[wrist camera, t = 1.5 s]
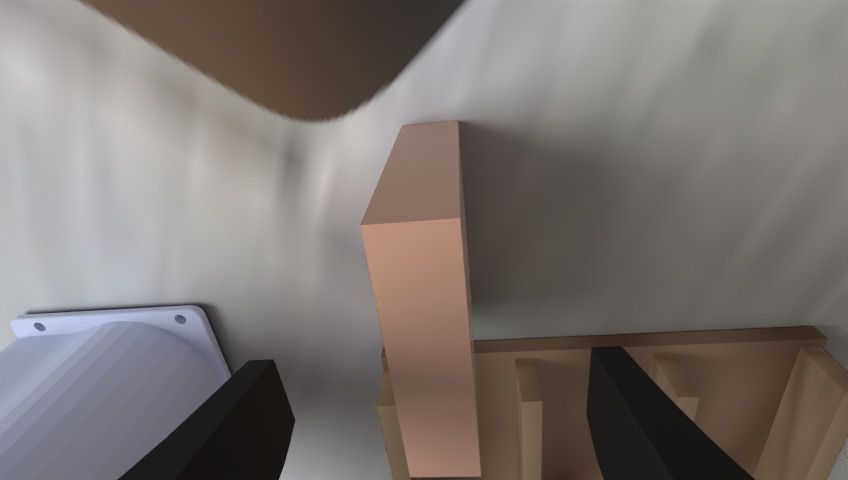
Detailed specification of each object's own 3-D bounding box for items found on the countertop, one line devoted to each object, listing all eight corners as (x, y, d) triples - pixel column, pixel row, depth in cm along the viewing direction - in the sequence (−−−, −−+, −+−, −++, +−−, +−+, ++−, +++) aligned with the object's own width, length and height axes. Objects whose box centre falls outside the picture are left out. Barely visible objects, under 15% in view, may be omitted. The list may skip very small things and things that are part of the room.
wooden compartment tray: (415, 501, 26) (408, 579, 23) (383, 344, 21) (369, 415, 17) (749, 499, 24) (798, 584, 21) (813, 326, 19) (895, 401, 15)
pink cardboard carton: (426, 306, 20) (410, 477, 13) (401, 125, 16) (360, 225, 9) (471, 304, 20) (481, 476, 13) (458, 119, 16) (459, 218, 9)
